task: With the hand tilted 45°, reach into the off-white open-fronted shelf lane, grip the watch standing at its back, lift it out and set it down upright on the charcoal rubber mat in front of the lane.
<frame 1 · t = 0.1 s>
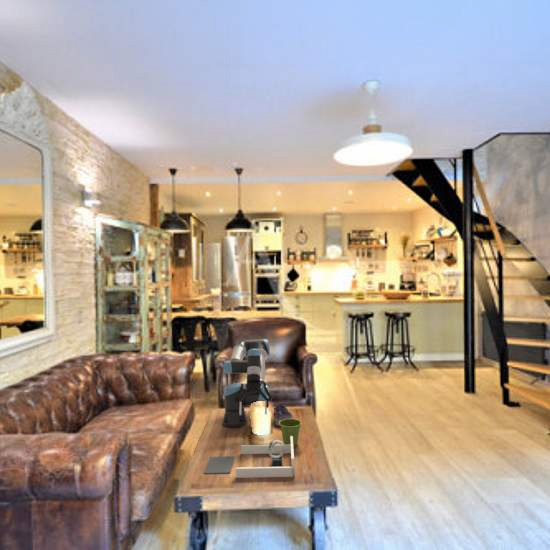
hand: (253, 414, 214), 15 cm above the table, fingers open, 13 cm apart
shelf lane: (266, 464, 189), on the table
watch: (276, 464, 189), resting in shelf lane
geode: (281, 421, 244), on the table
plant pot: (290, 444, 211), on the table
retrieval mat: (219, 465, 190), on the table
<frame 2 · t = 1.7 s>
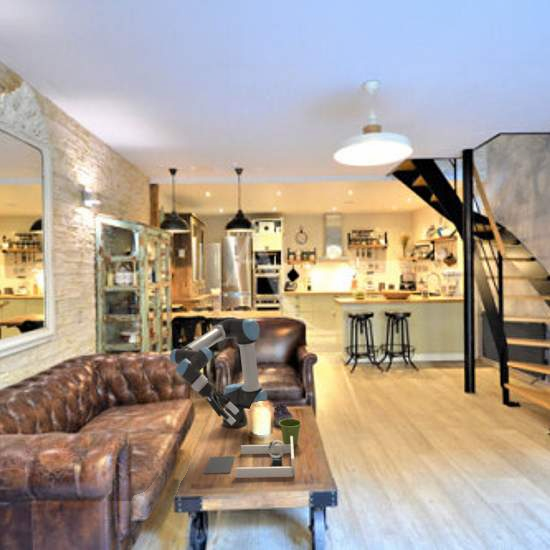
hand: (235, 417, 189), 22 cm above the table, fingers open, 13 cm apart
nothing on the table moved.
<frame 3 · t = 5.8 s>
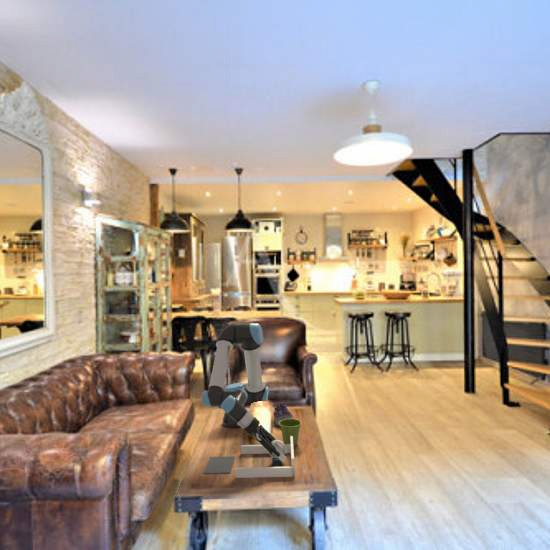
hand: (284, 456, 189), 3 cm above the table, fingers closed on watch, 6 cm apart
watch: (276, 464, 189), resting in shelf lane, touching gripper
everything else where it was.
when the fingers open (5 cm above the table, at t = 12.1 s): watch drops 1 cm, resting on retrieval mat.
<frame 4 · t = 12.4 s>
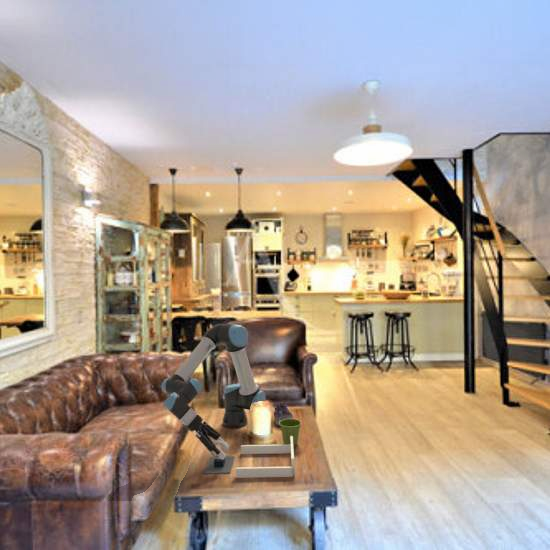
hand: (226, 452, 190), 6 cm above the table, fingers open, 9 cm apart
watch: (219, 465, 189), resting on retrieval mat
everything else where it was.
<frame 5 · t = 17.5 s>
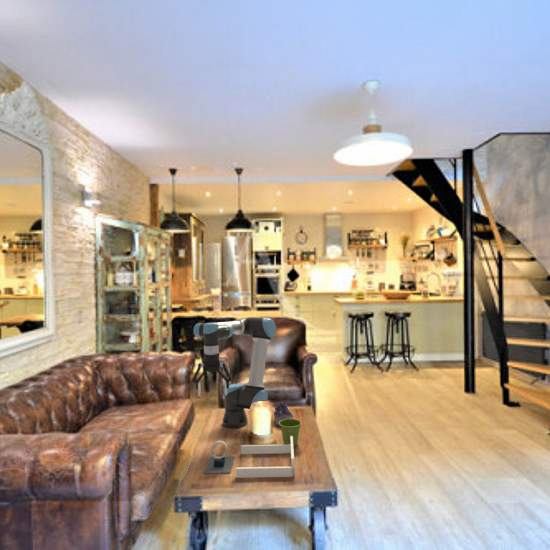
hand: (212, 395, 205), 29 cm above the table, fingers open, 13 cm apart
nothing on the table moved.
at the end: watch inside the target area (0.4 cm from its centre), resting on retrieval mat; watch tilted 0°; the gripper is holding nothing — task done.
